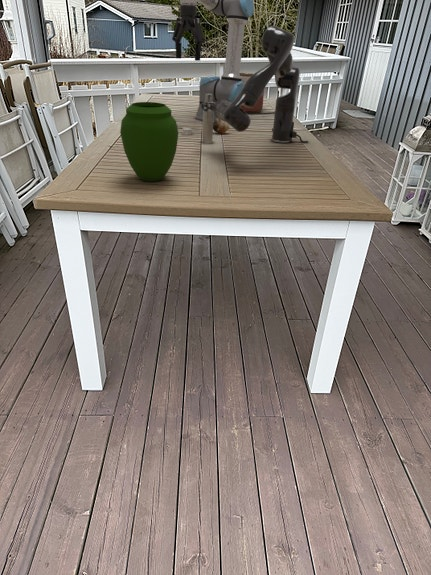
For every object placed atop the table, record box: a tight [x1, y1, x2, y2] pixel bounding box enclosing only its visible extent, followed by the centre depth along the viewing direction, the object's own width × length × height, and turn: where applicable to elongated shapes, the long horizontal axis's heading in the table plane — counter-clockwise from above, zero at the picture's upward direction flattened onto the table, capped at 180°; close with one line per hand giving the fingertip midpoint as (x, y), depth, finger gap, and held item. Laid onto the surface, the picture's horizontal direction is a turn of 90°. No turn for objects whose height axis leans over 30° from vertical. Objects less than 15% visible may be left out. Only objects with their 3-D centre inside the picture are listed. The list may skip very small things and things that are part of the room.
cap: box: [182, 127, 193, 136], centre depth 211 cm, size 5×5×3 cm
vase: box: [119, 101, 179, 182], centre depth 140 cm, size 20×20×24 cm
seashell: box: [213, 118, 230, 134], centre depth 214 cm, size 10×6×8 cm, turn 97°
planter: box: [239, 72, 265, 113], centre depth 276 cm, size 25×25×22 cm
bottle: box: [201, 94, 214, 145], centre depth 192 cm, size 5×5×21 cm
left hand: (187, 59), depth 194 cm, fingers open, 13 cm apart
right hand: (214, 104), depth 180 cm, fingers open, 8 cm apart
